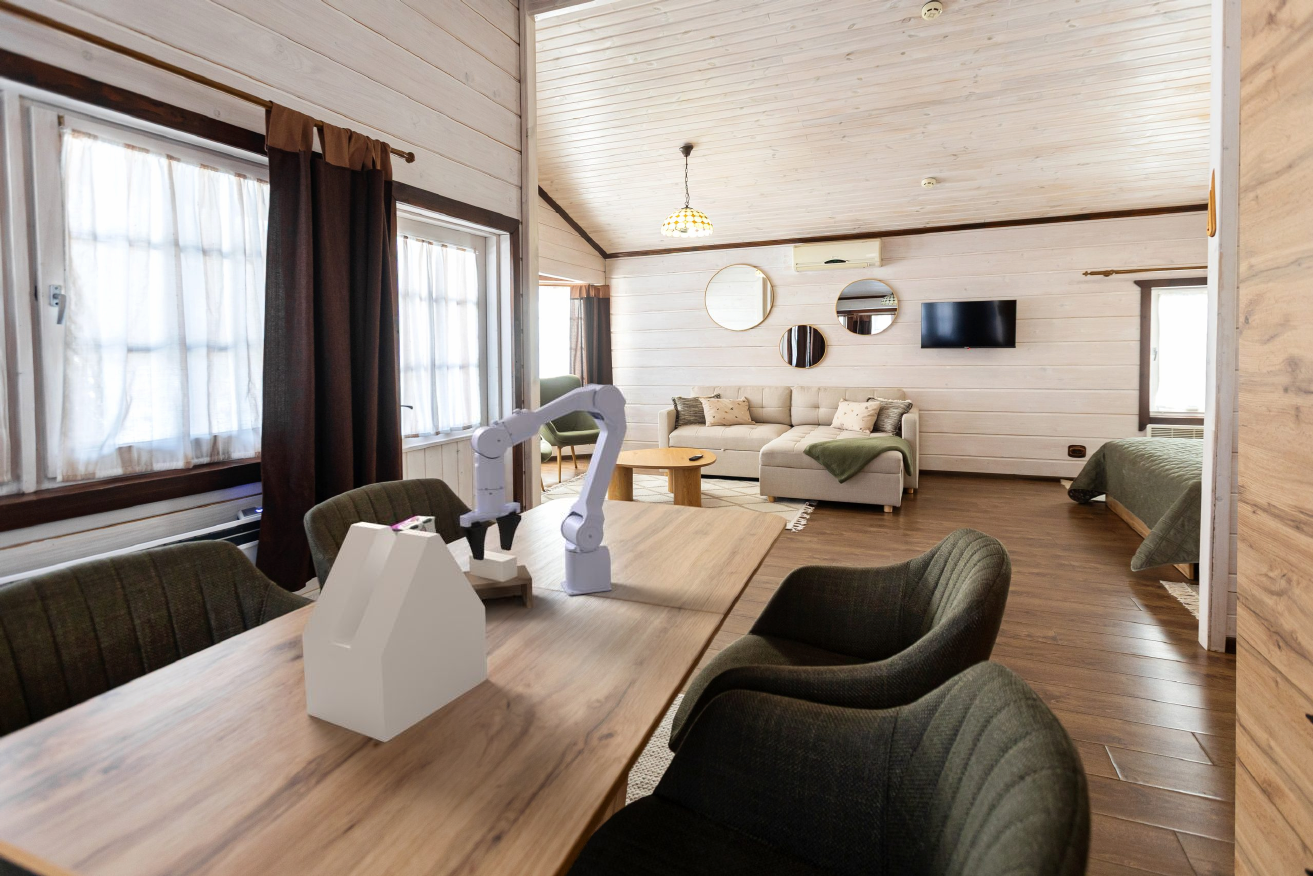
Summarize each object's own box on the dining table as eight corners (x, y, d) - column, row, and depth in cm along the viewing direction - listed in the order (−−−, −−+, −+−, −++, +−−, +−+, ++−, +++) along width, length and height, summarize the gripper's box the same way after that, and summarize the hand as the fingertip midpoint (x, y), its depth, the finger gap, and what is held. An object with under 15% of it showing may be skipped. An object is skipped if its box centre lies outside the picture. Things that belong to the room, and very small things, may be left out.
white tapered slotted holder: (414, 659, 109) (408, 510, 106) (487, 679, 102) (482, 520, 99) (307, 714, 92) (295, 538, 89) (385, 743, 85) (375, 553, 82)
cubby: (525, 592, 140) (524, 565, 140) (532, 607, 132) (532, 577, 131) (456, 601, 135) (455, 572, 135) (459, 616, 127) (458, 586, 126)
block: (484, 569, 137) (483, 550, 137) (517, 576, 132) (516, 556, 132) (469, 574, 134) (469, 555, 133) (502, 581, 129) (502, 561, 129)
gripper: (477, 495, 123) (480, 567, 124) (530, 483, 135) (532, 548, 137) (451, 492, 126) (453, 561, 128) (504, 480, 139) (506, 543, 140)
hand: (492, 554), depth 133 cm, fingers open, 7 cm apart
